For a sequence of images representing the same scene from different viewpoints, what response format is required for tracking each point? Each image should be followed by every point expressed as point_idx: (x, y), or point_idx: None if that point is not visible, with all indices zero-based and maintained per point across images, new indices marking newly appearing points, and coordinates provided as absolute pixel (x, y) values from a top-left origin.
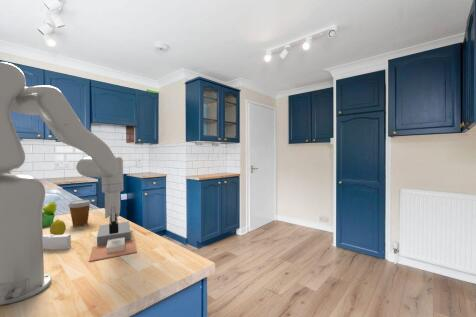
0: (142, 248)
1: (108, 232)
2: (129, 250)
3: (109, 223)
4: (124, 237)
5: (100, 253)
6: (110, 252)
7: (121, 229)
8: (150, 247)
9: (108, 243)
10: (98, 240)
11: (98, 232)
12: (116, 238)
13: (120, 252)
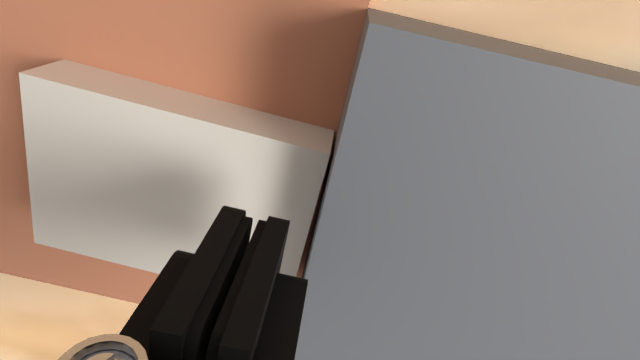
0: (68, 315)
1: (467, 214)
2: None
3: (219, 350)
4: None
5: (82, 1)
6: None
7: (453, 356)
8: (61, 354)
9: (162, 125)
10: (362, 37)
11: (624, 92)
12: (290, 234)
13: (21, 171)
